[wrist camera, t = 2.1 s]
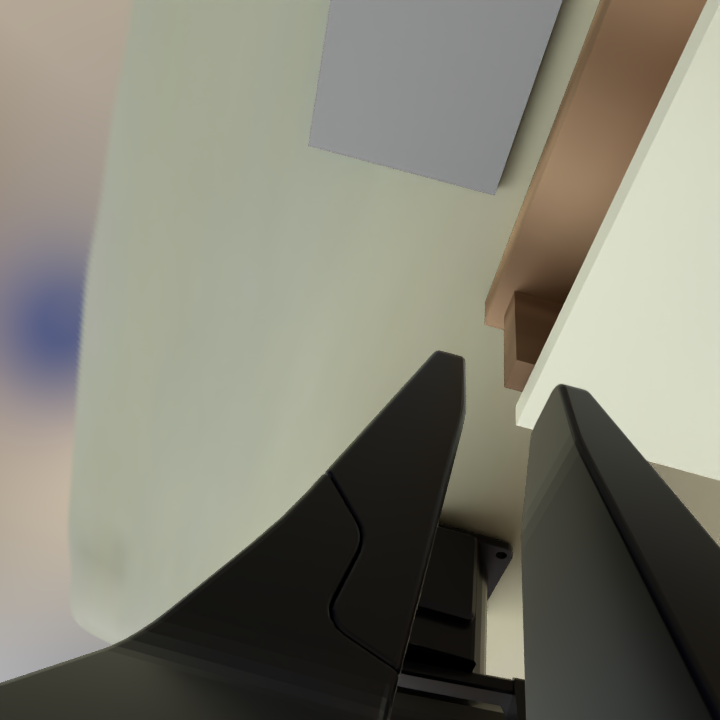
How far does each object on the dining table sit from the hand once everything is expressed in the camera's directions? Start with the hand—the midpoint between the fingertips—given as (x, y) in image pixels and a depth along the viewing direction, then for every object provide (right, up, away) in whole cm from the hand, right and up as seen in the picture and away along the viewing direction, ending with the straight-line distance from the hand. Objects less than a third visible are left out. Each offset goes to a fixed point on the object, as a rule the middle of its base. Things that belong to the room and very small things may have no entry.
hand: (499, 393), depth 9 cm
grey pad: (0, +10, +9) cm, 13 cm away
